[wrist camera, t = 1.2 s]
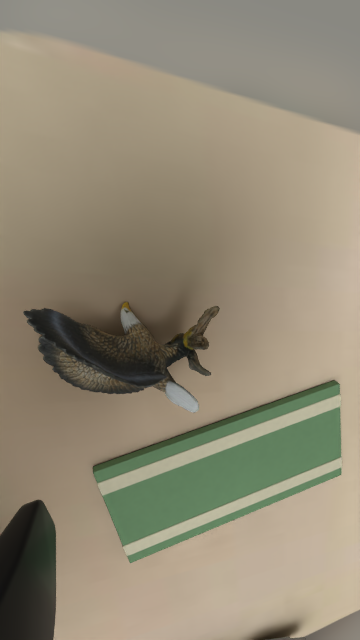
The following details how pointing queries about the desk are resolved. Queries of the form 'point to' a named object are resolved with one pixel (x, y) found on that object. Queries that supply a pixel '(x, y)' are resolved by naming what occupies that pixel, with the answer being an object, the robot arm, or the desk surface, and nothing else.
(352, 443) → the desk surface
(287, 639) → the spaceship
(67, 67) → the desk surface
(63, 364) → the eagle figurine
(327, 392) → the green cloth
